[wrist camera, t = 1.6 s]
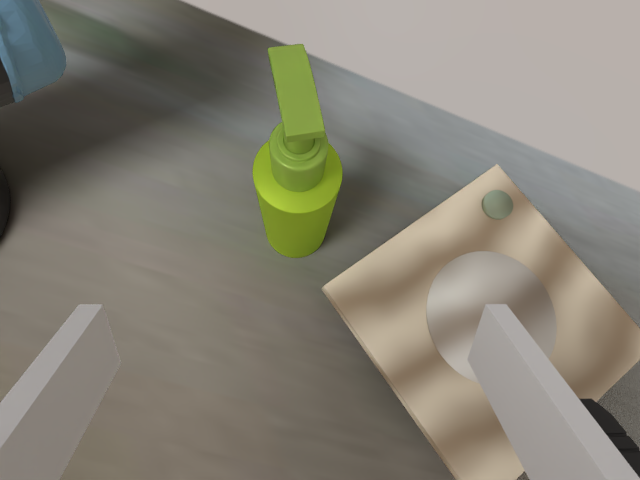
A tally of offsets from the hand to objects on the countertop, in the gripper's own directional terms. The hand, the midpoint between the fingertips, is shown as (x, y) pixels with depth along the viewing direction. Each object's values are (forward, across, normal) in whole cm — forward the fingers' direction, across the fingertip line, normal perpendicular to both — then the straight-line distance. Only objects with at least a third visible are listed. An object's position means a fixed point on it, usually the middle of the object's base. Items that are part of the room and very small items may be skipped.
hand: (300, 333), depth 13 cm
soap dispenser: (+23, 0, -8) cm, 24 cm away
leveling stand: (+17, +16, -14) cm, 27 cm away
